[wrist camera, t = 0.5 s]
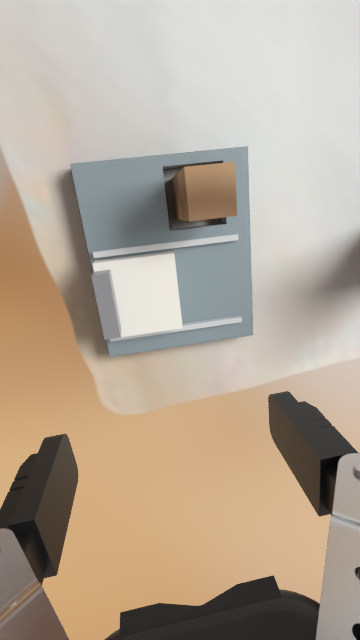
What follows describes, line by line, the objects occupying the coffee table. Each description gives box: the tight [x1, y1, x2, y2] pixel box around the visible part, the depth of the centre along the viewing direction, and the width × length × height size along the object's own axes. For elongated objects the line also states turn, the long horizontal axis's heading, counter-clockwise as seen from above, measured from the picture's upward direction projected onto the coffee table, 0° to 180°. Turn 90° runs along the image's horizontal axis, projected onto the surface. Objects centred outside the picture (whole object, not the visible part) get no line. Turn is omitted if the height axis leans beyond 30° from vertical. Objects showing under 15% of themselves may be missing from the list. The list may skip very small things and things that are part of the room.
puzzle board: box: [70, 146, 253, 357], centre depth 33 cm, size 20×17×3 cm
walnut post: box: [172, 162, 237, 222], centre depth 29 cm, size 4×4×9 cm
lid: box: [91, 251, 183, 340], centre depth 31 cm, size 8×8×4 cm
